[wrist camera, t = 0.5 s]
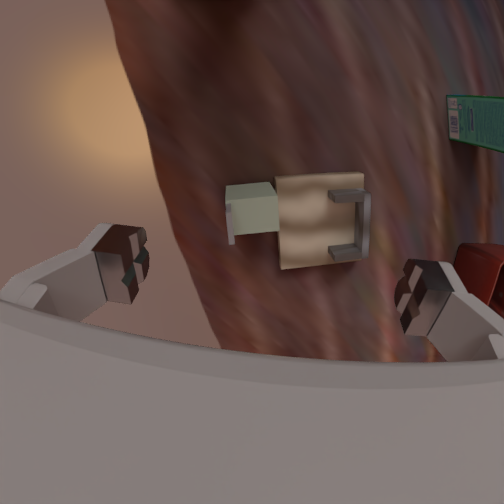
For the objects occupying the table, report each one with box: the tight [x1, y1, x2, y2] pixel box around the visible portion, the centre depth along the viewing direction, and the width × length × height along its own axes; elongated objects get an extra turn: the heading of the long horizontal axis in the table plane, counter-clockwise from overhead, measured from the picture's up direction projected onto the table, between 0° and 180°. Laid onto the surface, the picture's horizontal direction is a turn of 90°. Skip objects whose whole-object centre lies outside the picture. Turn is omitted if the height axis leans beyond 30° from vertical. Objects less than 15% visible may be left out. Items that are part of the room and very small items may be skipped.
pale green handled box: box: [225, 182, 280, 245], centre depth 47 cm, size 5×7×15 cm
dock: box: [274, 172, 371, 270], centre depth 53 cm, size 16×15×6 cm
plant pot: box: [454, 243, 504, 319], centre depth 56 cm, size 19×19×17 cm
